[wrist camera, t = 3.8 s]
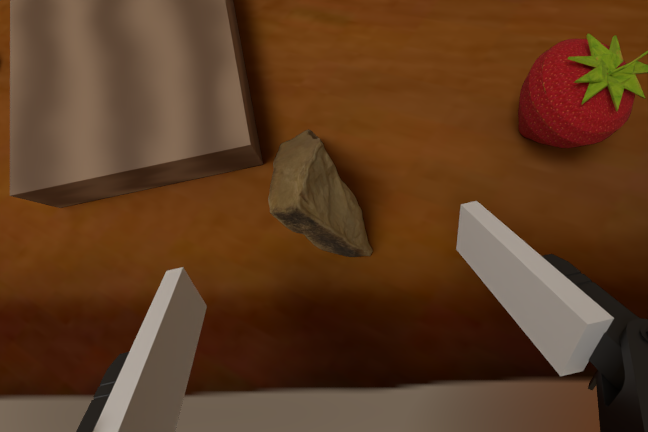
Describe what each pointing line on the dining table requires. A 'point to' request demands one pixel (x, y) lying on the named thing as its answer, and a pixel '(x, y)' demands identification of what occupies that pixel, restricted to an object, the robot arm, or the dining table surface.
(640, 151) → the dining table surface
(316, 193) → the rock
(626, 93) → the strawberry
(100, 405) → the robot arm
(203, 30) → the walnut base
